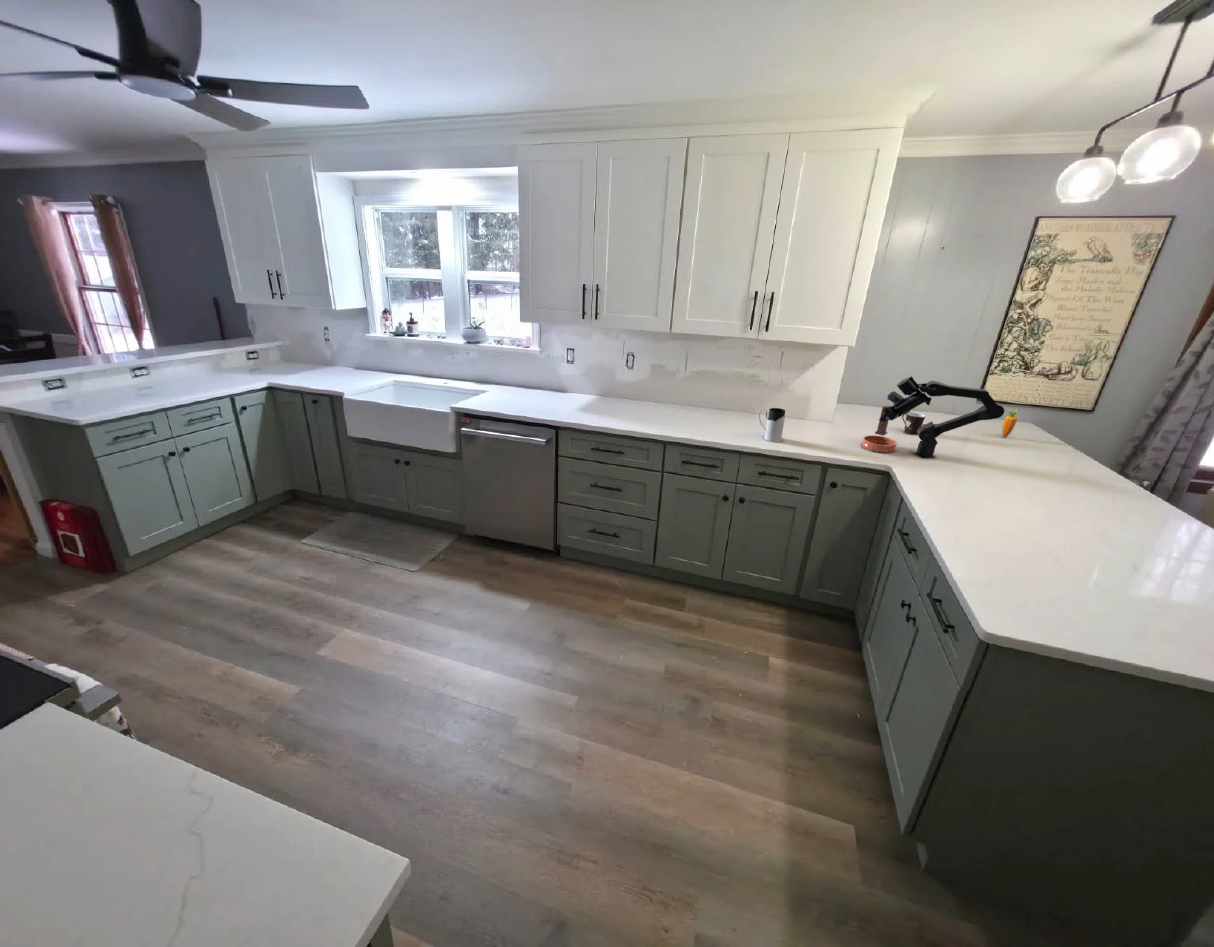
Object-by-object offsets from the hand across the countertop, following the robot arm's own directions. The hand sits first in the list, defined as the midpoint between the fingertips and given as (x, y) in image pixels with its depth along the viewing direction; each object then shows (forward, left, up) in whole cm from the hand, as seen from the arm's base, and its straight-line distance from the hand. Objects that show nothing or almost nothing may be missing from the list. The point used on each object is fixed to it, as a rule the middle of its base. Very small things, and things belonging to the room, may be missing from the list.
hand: (881, 419), depth 236 cm
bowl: (-4, +1, -13) cm, 14 cm away
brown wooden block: (-1, -1, -7) cm, 7 cm away
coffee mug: (+16, -32, -13) cm, 38 cm away
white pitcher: (+17, +47, -13) cm, 52 cm away
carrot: (+2, -75, -13) cm, 76 cm away
